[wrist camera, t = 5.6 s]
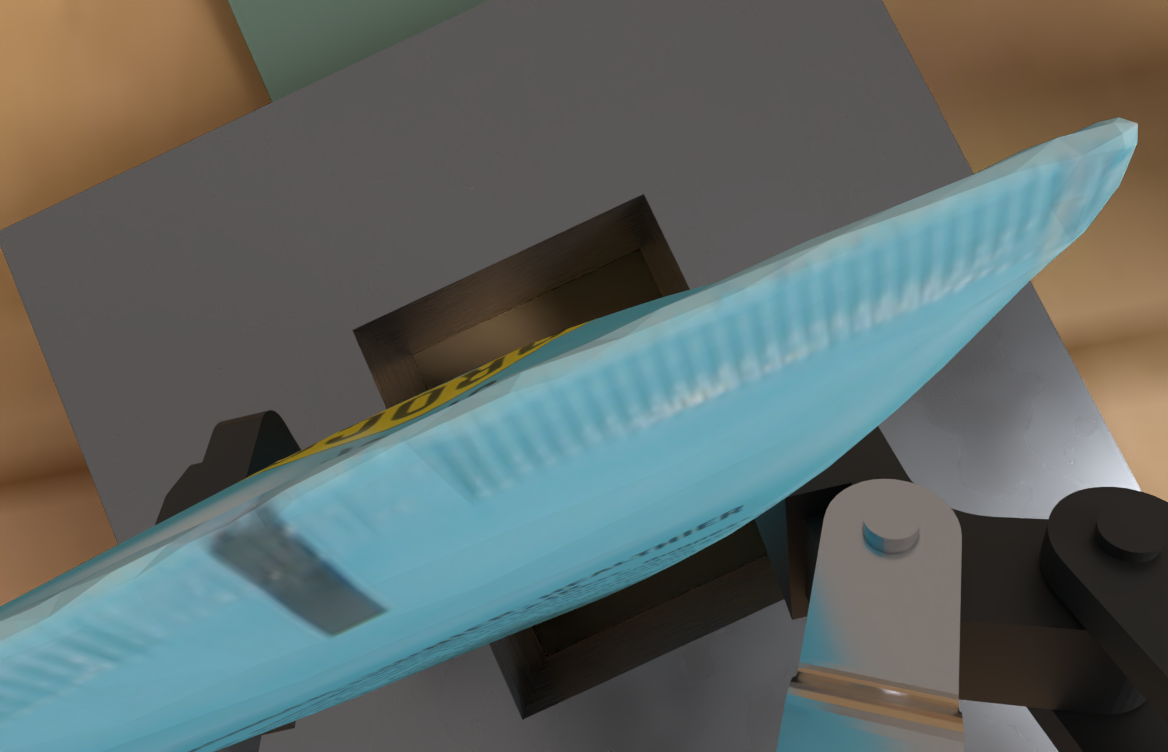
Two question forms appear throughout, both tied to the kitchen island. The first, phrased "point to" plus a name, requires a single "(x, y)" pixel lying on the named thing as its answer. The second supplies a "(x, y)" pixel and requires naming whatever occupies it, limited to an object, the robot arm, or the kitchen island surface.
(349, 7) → the rubber mat
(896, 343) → the tube
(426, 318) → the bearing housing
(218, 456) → the robot arm
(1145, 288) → the kitchen island surface
